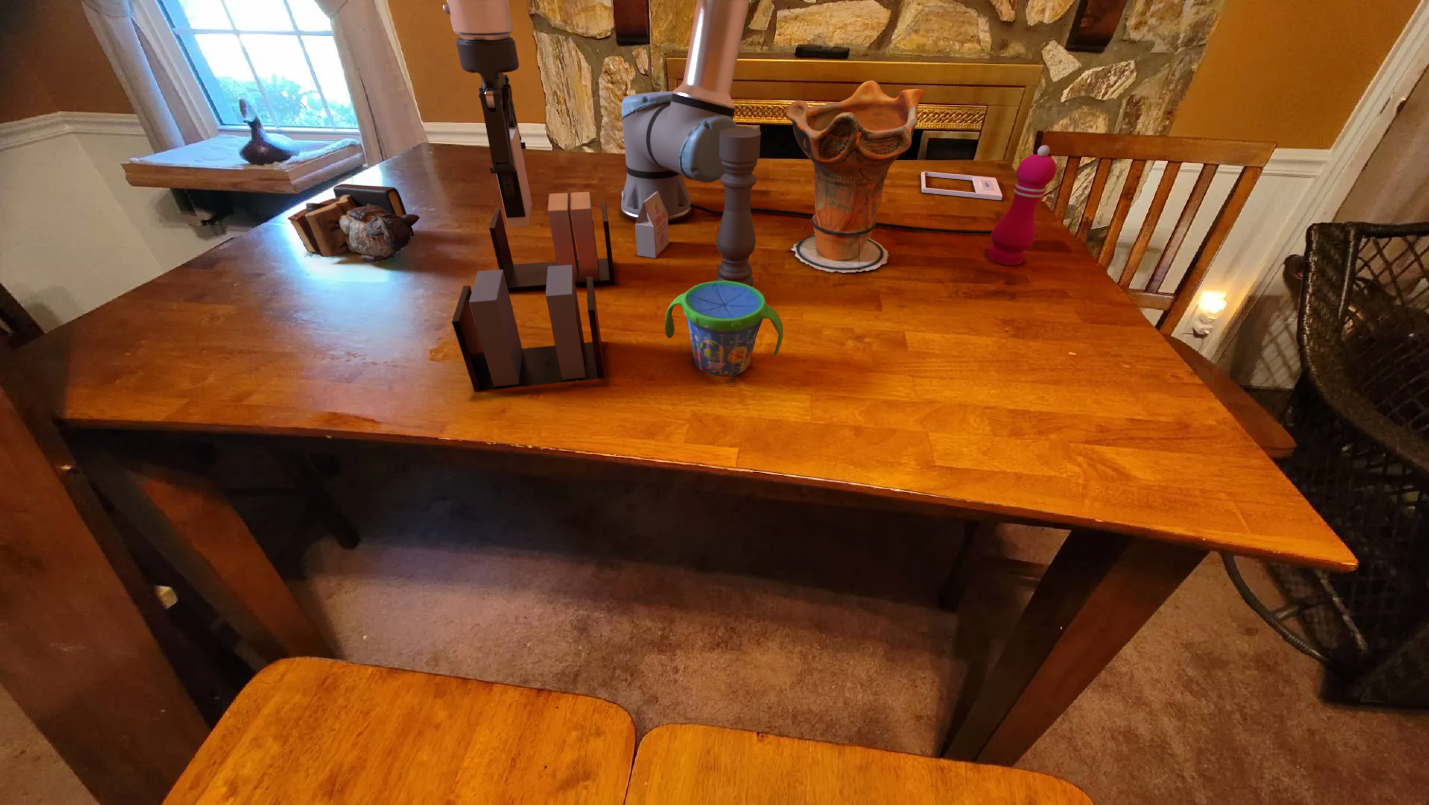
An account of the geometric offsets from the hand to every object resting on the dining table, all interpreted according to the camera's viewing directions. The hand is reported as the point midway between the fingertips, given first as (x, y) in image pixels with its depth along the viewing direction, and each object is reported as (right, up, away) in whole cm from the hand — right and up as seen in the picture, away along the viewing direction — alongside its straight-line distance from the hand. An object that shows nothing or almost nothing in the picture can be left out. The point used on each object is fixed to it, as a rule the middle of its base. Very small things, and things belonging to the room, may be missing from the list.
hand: (518, 204), depth 87 cm
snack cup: (+32, -26, -11) cm, 43 cm away
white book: (0, -1, +1) cm, 2 cm away
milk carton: (+19, -2, +19) cm, 27 cm away
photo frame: (+92, +22, +50) cm, 107 cm away
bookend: (-31, -3, +16) cm, 35 cm away
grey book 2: (+12, -26, -13) cm, 31 cm away
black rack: (+4, -9, +9) cm, 14 cm away
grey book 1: (+4, -27, -14) cm, 30 cm away
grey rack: (+8, -27, -13) cm, 31 cm away
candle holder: (+34, -14, +4) cm, 37 cm away
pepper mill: (+86, -4, +18) cm, 88 cm away
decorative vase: (+54, -3, +18) cm, 57 cm away
